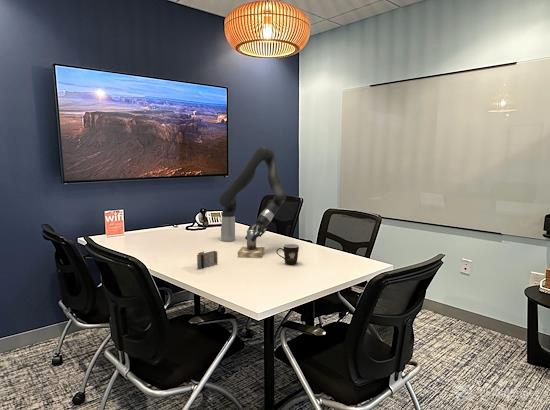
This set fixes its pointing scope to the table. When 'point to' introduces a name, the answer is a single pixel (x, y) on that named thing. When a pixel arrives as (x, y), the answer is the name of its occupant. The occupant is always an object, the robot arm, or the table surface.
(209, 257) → the grey rusty box
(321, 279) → the table surface
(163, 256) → the table surface
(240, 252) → the stand
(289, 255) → the coffee mug
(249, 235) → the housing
